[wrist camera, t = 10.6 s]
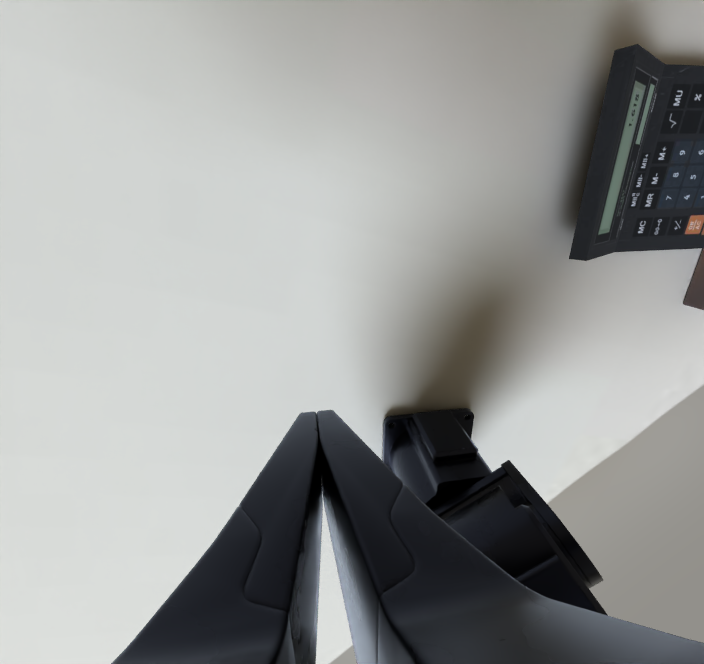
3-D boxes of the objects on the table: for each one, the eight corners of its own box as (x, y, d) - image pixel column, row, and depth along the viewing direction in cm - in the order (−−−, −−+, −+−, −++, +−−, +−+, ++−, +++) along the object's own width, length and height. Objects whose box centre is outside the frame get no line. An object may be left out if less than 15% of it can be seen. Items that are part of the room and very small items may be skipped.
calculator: (703, 245, 23) (760, 252, 20) (542, 252, 21) (579, 261, 18) (765, 74, 19) (844, 53, 16) (577, 67, 18) (629, 43, 15)
